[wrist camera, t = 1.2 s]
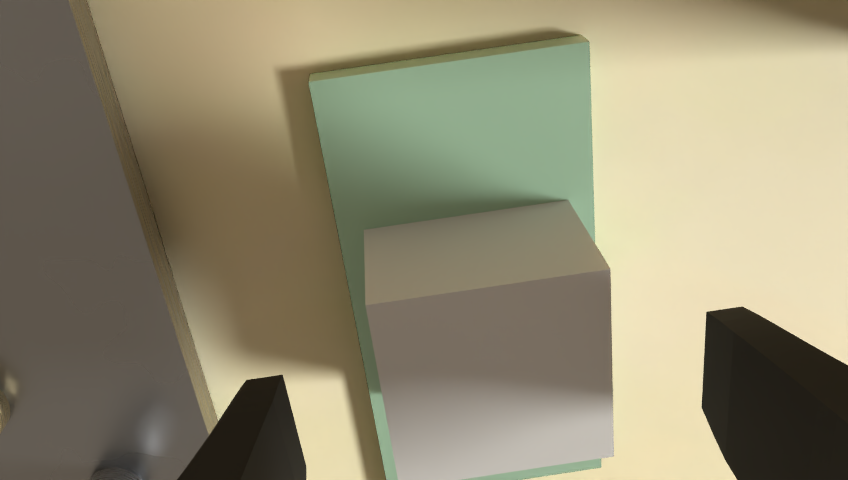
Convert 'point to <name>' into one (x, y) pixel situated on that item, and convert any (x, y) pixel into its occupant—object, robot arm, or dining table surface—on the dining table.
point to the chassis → (83, 272)
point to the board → (453, 154)
